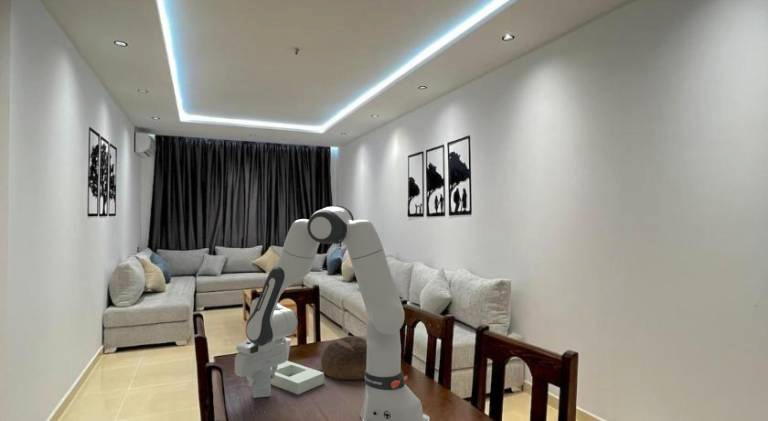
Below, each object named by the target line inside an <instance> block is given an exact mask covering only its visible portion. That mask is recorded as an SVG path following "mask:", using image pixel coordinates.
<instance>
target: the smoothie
mask: <svg viewBox="0 0 768 421" xmlns="http://www.w3.org/2000/svg"><path fill="white" fill-rule="evenodd" d="M283 338H284V339H285V340H286V349H287V361H289V355H290V348H291V343H292V338H290V337H287V336H286V337H283Z"/></svg>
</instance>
